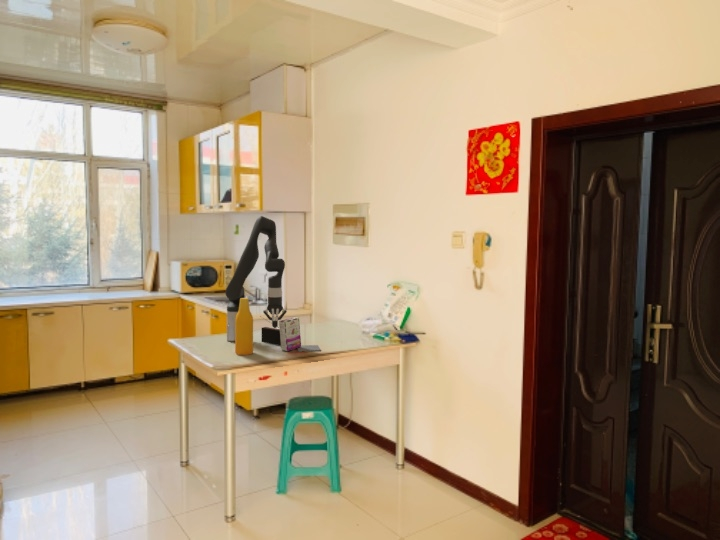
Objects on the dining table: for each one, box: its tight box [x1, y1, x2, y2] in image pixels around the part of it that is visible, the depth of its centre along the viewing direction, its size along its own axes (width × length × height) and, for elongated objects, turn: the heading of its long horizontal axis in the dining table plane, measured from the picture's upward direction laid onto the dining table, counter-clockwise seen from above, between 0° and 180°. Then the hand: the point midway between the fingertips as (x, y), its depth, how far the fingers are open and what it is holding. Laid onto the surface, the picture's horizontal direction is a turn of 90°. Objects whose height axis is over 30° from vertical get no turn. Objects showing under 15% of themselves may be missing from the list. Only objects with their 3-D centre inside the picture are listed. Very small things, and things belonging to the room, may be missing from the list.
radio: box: [259, 315, 281, 347], centre depth 300 cm, size 19×3×15 cm, turn 56°
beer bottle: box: [234, 297, 254, 356], centre depth 274 cm, size 9×9×29 cm
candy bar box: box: [278, 316, 302, 352], centre depth 285 cm, size 11×5×16 cm, turn 143°
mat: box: [296, 344, 322, 353], centre depth 288 cm, size 12×12×1 cm
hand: (274, 327), depth 283 cm, fingers closed
